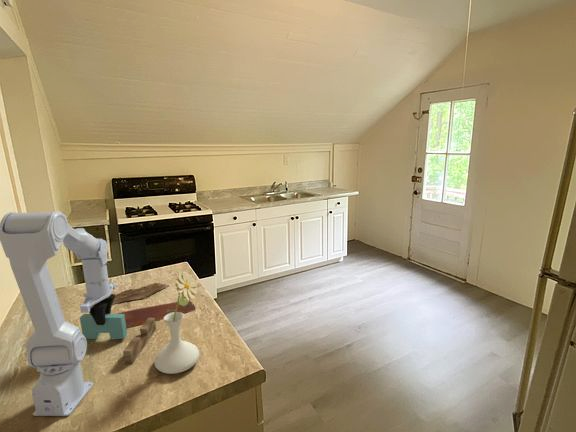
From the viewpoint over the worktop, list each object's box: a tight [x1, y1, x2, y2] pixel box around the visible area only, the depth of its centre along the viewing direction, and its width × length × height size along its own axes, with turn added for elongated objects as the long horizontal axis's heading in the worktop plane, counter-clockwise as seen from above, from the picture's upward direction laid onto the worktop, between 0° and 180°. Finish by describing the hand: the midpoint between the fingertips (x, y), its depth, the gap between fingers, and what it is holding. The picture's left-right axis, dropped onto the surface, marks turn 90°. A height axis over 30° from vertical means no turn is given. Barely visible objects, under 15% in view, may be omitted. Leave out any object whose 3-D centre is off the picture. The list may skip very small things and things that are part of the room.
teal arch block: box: [79, 313, 128, 340], centre depth 96 cm, size 12×2×7 cm, turn 90°
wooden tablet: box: [116, 300, 196, 329], centre depth 110 cm, size 27×10×2 cm, turn 117°
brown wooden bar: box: [122, 318, 157, 365], centre depth 93 cm, size 16×2×4 cm, turn 0°
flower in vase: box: [154, 271, 201, 375], centre depth 84 cm, size 13×11×25 cm
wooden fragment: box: [112, 282, 170, 305], centre depth 123 cm, size 26×11×1 cm, turn 128°
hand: (103, 321), depth 95 cm, fingers closed on teal arch block, 2 cm apart
